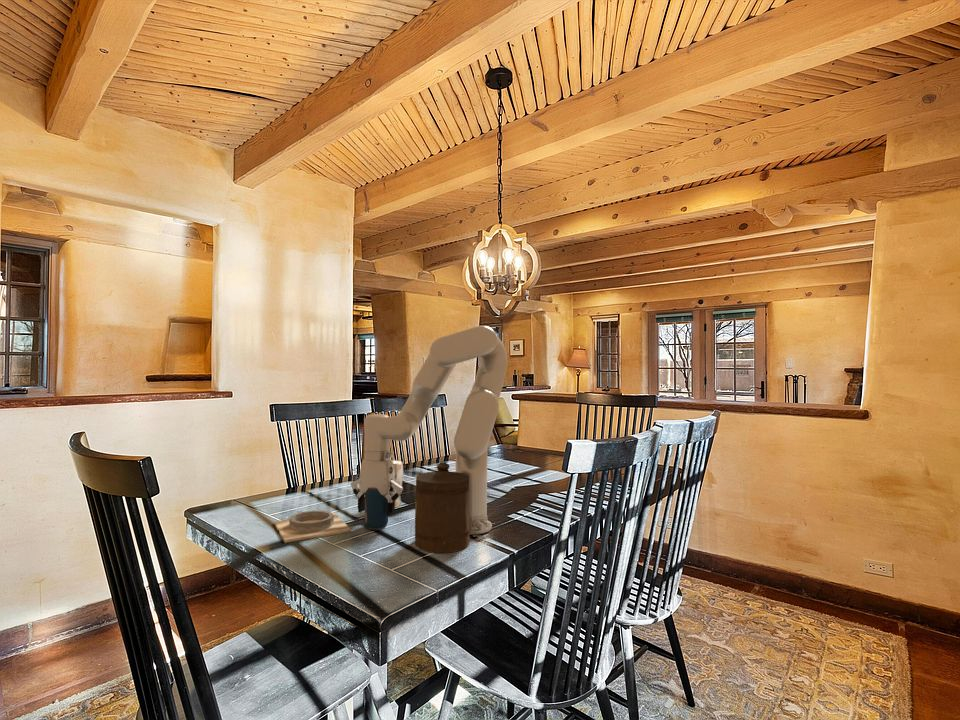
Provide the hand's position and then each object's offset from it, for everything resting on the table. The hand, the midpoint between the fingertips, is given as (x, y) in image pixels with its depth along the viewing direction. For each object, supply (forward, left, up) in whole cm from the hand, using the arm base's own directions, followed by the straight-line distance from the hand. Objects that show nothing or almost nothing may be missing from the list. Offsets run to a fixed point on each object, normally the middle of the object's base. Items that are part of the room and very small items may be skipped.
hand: (375, 512), depth 148 cm
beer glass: (+18, -12, -4) cm, 22 cm away
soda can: (0, 0, -4) cm, 4 cm away
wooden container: (-22, -11, -4) cm, 25 cm away
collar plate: (+8, +17, -4) cm, 19 cm away
